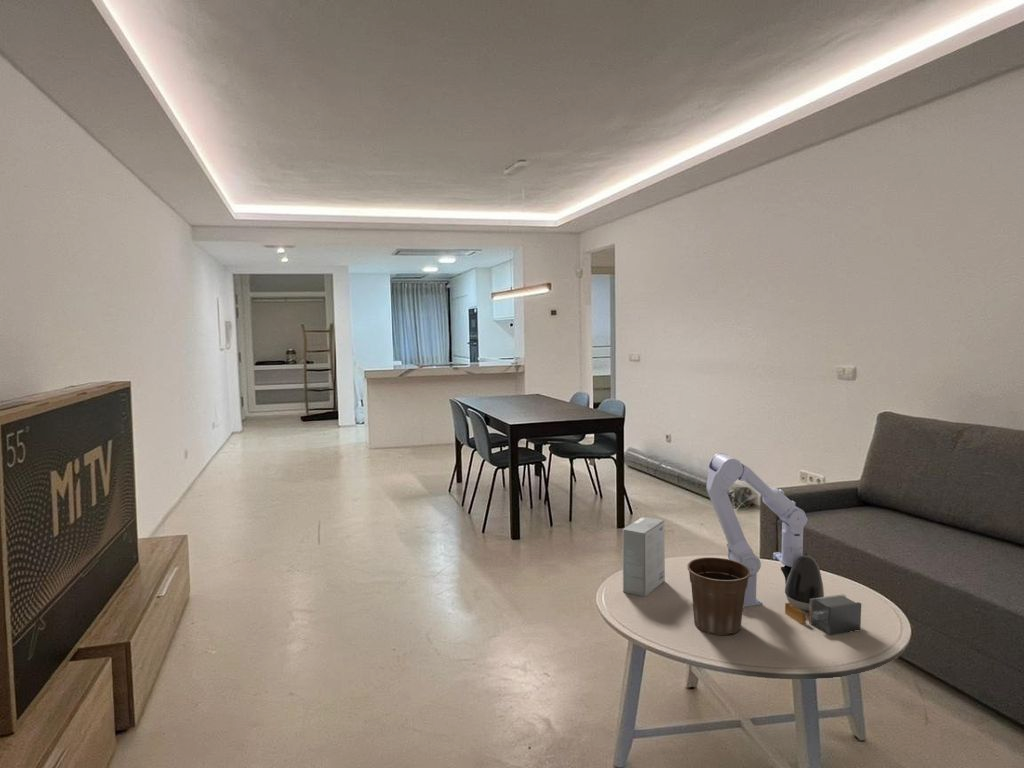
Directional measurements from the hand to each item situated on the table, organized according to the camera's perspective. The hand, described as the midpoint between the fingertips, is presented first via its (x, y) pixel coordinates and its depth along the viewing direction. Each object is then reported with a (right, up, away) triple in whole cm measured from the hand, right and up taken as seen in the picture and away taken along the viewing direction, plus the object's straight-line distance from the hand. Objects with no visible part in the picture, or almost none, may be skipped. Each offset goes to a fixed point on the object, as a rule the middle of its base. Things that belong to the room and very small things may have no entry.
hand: (791, 590), depth 191 cm
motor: (+4, -4, -14) cm, 15 cm away
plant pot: (-27, -5, -16) cm, 32 cm away
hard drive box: (-41, -2, +11) cm, 43 cm away
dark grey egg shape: (+1, -3, -5) cm, 6 cm away
